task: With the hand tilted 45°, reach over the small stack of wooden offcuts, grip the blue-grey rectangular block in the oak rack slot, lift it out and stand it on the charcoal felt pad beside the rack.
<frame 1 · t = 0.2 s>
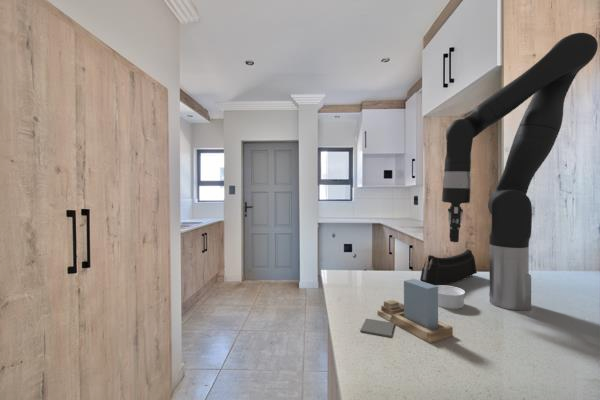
hand: (453, 240, 89), 18 cm above the countertop, tool pointing down, fingers open, 8 cm apart
magazine: (450, 282, 107), on the countertop
ramekin: (448, 305, 86), on the countertop
rack: (420, 328, 70), on the countertop
blue-grey rectangular block: (420, 328, 70), resting in rack
pad: (377, 328, 71), on the countertop
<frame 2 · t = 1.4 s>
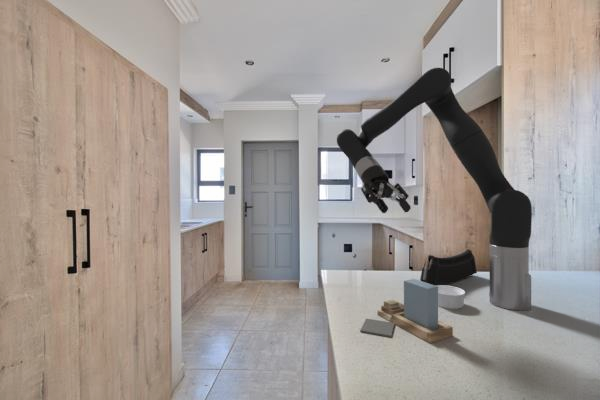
hand: (397, 210, 84), 28 cm above the countertop, tool tilted 45°, fingers open, 8 cm apart
nothing on the countertop moved.
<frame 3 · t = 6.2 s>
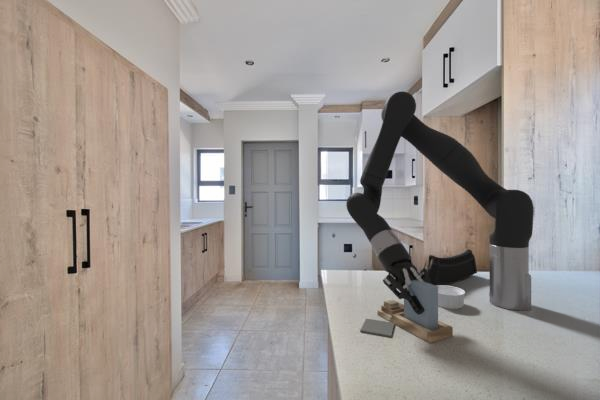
hand: (427, 310, 68), 5 cm above the countertop, tool tilted 45°, fingers closed on blue-grey rectangular block, 3 cm apart
blue-grey rectangular block: (420, 328, 70), resting in rack, touching gripper
everything else where it was.
when the fingers open (7 cm above the countertop, at t = 11.2 s): blue-grey rectangular block stays where it is, resting on pad.
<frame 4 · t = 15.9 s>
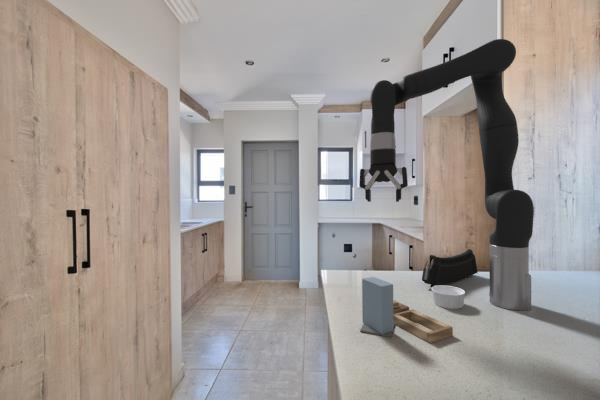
hand: (383, 201, 90), 30 cm above the countertop, tool pointing down, fingers open, 8 cm apart
blue-grey rectangular block: (377, 326, 71), resting on pad
everything else where it was.
at the end: blue-grey rectangular block inside the target area on the pad (0.1 cm from its centre), point 0.4 cm above the pad's base; blue-grey rectangular block tilted 0°; the gripper is holding nothing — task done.
